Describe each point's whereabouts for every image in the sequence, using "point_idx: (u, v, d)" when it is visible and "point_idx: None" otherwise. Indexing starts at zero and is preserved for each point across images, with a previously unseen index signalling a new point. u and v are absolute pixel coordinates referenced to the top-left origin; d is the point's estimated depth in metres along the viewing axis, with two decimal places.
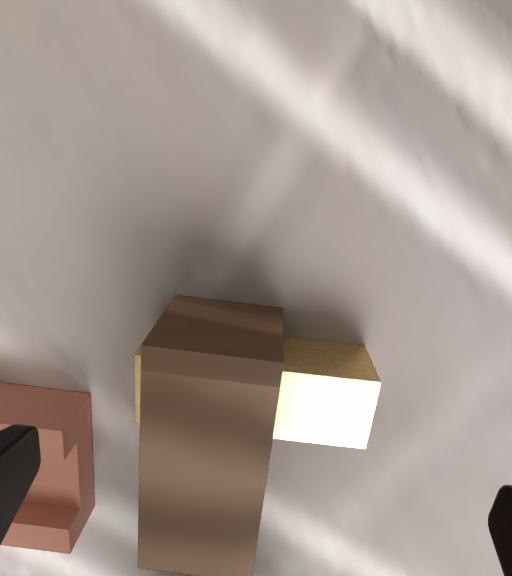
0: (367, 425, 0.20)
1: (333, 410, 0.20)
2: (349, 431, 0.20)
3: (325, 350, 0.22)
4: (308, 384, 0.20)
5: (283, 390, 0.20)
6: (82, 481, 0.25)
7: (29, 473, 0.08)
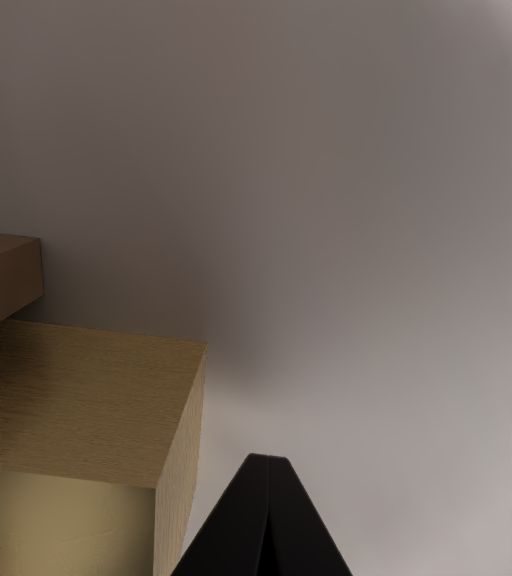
0: None
1: (11, 575, 0.06)
2: None
3: (69, 358, 0.08)
4: None
5: None
6: None
7: None
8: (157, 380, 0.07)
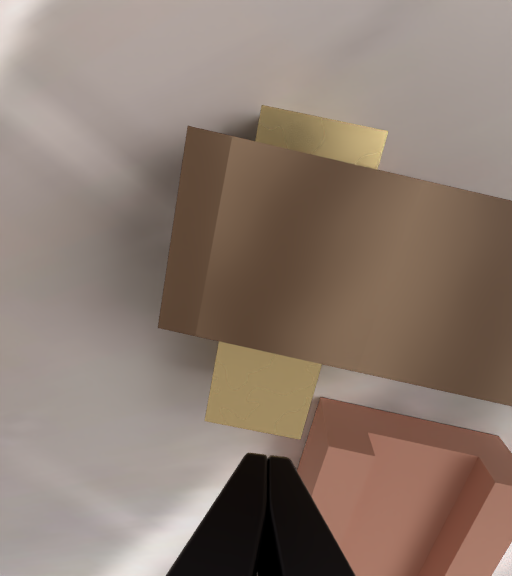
0: (340, 128, 0.12)
1: None
2: (349, 158, 0.13)
3: None
4: None
5: None
6: (437, 441, 0.19)
7: None
8: None
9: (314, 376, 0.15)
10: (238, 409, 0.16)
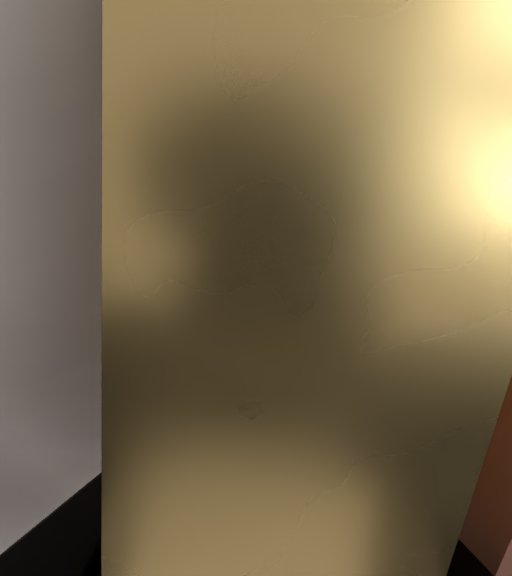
0: None
1: None
2: None
3: None
4: (176, 0, 0.03)
5: (225, 164, 0.03)
6: None
7: None
8: None
9: None
10: None
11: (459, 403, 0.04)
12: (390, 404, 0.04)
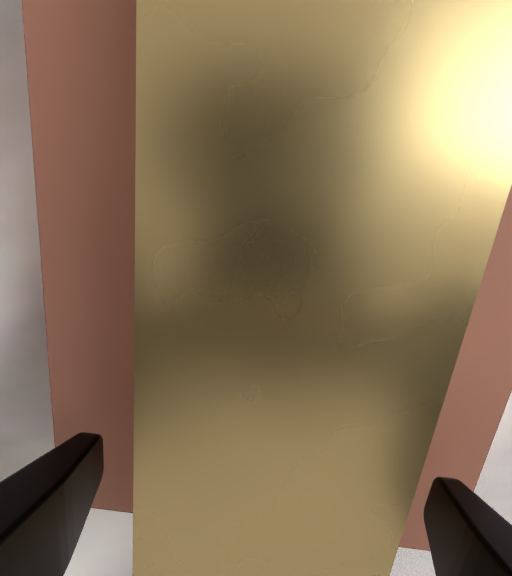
0: None
1: None
2: None
3: None
4: (192, 85, 0.04)
5: (230, 206, 0.04)
6: None
7: (95, 481, 0.08)
8: None
9: (393, 529, 0.06)
10: None
11: (414, 388, 0.05)
12: (360, 388, 0.05)
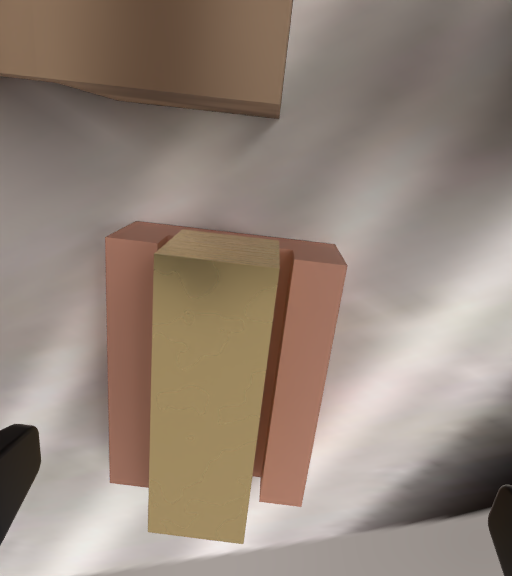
0: (232, 268, 0.13)
1: (208, 318, 0.13)
2: (245, 294, 0.13)
3: None
4: (168, 351, 0.14)
5: (181, 382, 0.14)
6: None
7: (29, 473, 0.08)
8: None
9: (247, 487, 0.16)
10: (179, 520, 0.16)
11: (246, 436, 0.15)
12: (228, 436, 0.15)
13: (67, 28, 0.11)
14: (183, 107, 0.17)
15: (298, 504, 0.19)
